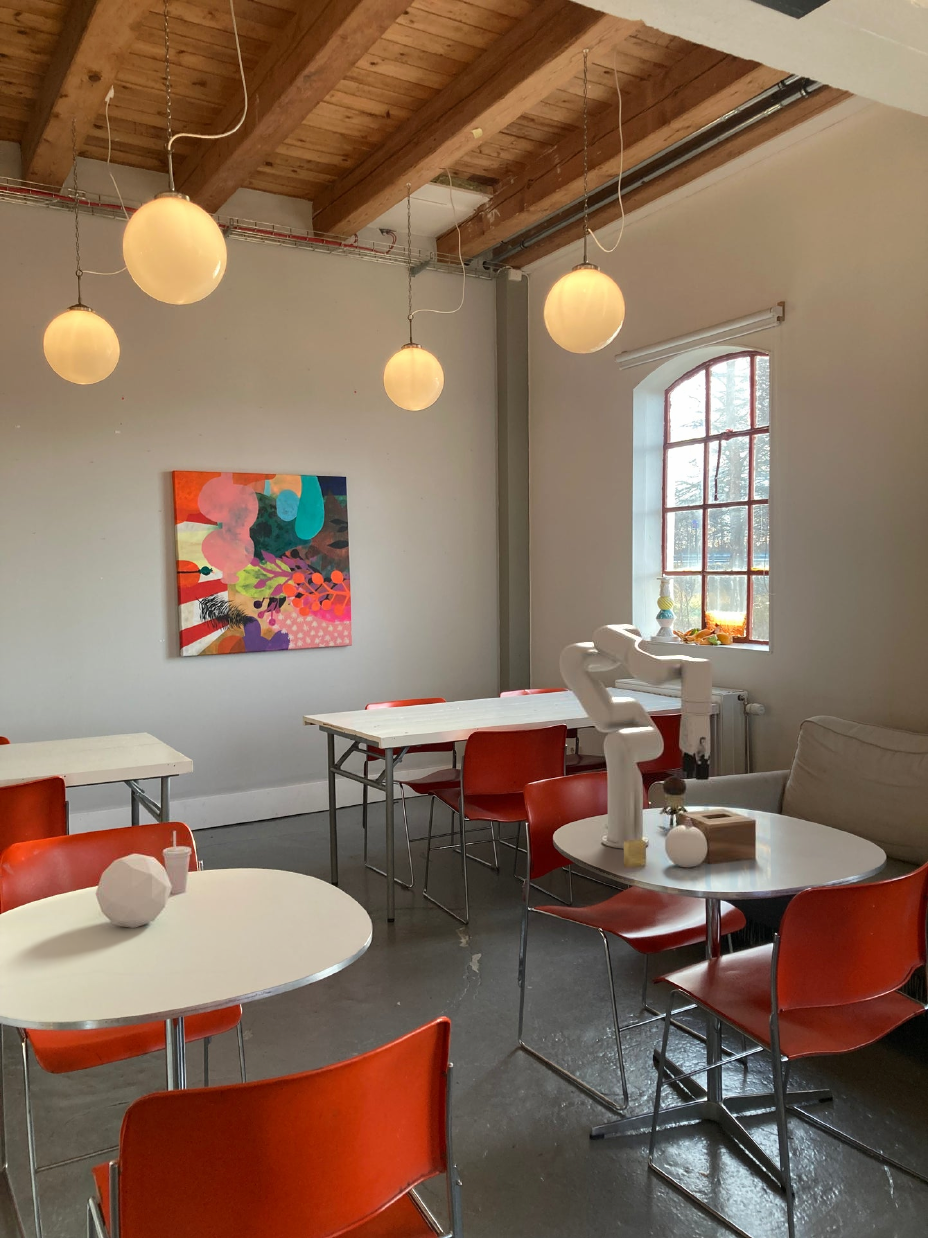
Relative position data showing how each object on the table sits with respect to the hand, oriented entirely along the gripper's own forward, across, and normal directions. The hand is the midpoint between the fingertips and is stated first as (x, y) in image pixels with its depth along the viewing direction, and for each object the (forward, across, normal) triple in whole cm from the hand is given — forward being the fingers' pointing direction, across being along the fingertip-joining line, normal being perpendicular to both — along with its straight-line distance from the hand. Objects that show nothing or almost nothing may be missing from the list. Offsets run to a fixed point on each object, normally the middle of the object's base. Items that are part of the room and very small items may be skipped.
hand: (695, 775), depth 230 cm
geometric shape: (+24, +28, -130) cm, 135 cm away
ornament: (+23, +1, -2) cm, 23 cm away
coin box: (+23, -9, +9) cm, 26 cm away
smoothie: (+24, +7, -126) cm, 128 cm away
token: (+23, -2, -15) cm, 27 cm away
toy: (+24, -40, +9) cm, 48 cm away
